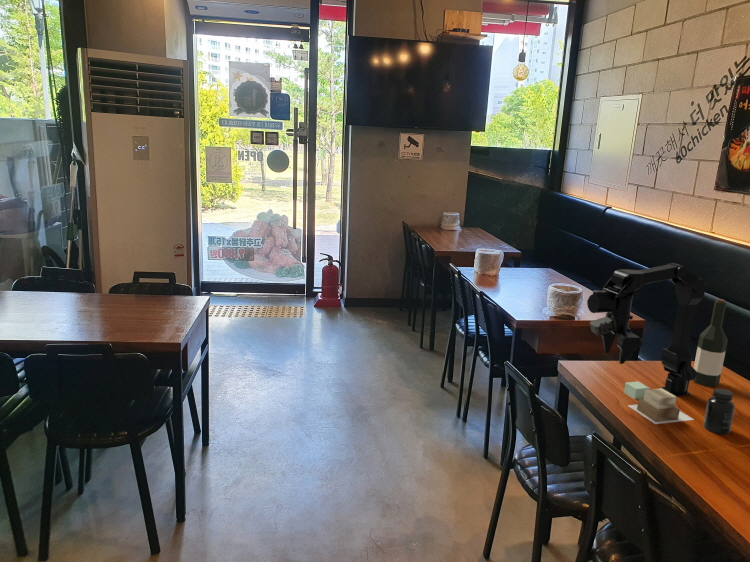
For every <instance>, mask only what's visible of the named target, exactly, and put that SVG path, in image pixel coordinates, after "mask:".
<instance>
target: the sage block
mask: <svg viewBox="0 0 750 562" xmlns="http://www.w3.org/2000/svg"><path fill="white" fill-rule="evenodd" d="M649 389H650V387H648V386H647V385H645V384H643V383H642V382H640V381H629V382H627V381H626V382H625V384H624V391H623V393H624V394H625V395H627V396H629V397H630V398H632V399H634V400H638V399H644V395H645V390H649Z"/></svg>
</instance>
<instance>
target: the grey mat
mask: <svg viewBox="0 0 750 562" xmlns="http://www.w3.org/2000/svg"><path fill="white" fill-rule="evenodd" d="M637 405H638V403H637V404H629V405H627V406H628V407H629V408H630V409H632V410H634V412H636V413H638V414H640V415H641V416H642V417H644V418H645V419H647V420H649V422H651V423H653V424H654V425H659V424H669V423H670V424H671V423H677V422H678V423H679V422H686V421H694V420H695V419H694V418H692V417H690V416H689V415H687V414H686V413H684V412H683V411H681V410H680V412H679V417H678V420H670V421H661V422H655V421H653V420H652V419H650V418H649V417H647V416H646V415H644V414H643V413H641V412H640V411H638V410H637Z"/></svg>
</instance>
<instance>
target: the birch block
mask: <svg viewBox="0 0 750 562" xmlns="http://www.w3.org/2000/svg"><path fill="white" fill-rule="evenodd" d="M677 397H678V396H674V395H673V394H671V393H669V392H667V391H666V390H664V389H662V387H661V388H660V387H659V388H652V389H650V388H649V390H645V395H644V398H643V399H644V401H645V402H647V403H649V404H650V405H652V406H653V407H655V408H657V409H666V408H675V406H676V402H677Z"/></svg>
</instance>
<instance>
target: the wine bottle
mask: <svg viewBox="0 0 750 562" xmlns="http://www.w3.org/2000/svg"><path fill="white" fill-rule="evenodd" d="M713 304H714V305H713V310H712V315H711V320H710V324H709V325H708V326H707V327H706V328H705V329H704V330H703V331H702V332H701V333H700V334H699V339H698V342H697V343H698V344H697V347H696V348H697V349H696V354H695V360H694V364H693V369H694V370H695V371H696V373H697V375H696V377H695V379H693V380H692V381H693V383H694V384H698V385H700V386H703V387H709V388H716V387H718V386H719V385H720V382H721V376H722V371H723V367H724V366H723V365H724V361H725V356H726V352H727V346H728V341H729V339H728V337H727V334H726V333H725V330H724V329H723V322H724V318H725V313H726V307H727V302H726V300H725V299H723V298H717V299H716V300H715V301H714V303H713Z"/></svg>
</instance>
